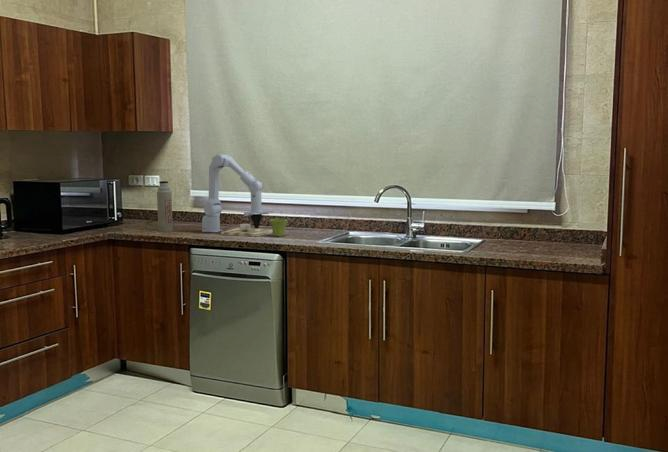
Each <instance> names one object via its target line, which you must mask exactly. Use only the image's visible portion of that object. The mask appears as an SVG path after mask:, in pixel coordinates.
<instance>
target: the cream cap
mask: <svg viewBox="0 0 668 452" xmlns="http://www.w3.org/2000/svg"><path fill="white" fill-rule="evenodd" d="M239 228H240V230H247V231H250V229H251V223H240V226H239Z"/></svg>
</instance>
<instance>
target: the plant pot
mask: <svg viewBox="0 0 668 452" xmlns="http://www.w3.org/2000/svg"><path fill="white" fill-rule="evenodd" d="M269 221H270V224H271V230H272V235H273V237H283V236H285V234H286V226H287V225H286V224H287V221H288V219H286V218H271V219H269Z"/></svg>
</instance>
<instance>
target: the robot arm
mask: <svg viewBox="0 0 668 452" xmlns="http://www.w3.org/2000/svg"><path fill="white" fill-rule="evenodd" d="M224 167H227V168H228V167H229V168H230V169H231V170H232V171H234V173H236V174H237V175H238V176H239V179H240V180H241V181H242V182H243V183H244V185H246V186H247V188H248V190H249V193H250V210H249V211H244V212H243V216H244V217H248V216H249V217H250V219H251V221H252V224H253V227H254V229H260V224H261V221H262V219H263V215H269V214H270V213H269V212H270V211H269V210H263V209H262V190H263V188H264V184H263V183H262V182H261V181H260V180H258V179H257V178H255V177H254V176H253V175H252V173H251V172H250V171H245V170H244V169H243V168H242V167H241V166H240V165H239V164H238V163H237V162H236V160H235V159H234V157H232V156H231V155H230V154H228V153H225V154H224V153H223V154H215V155H213V157H212V159H211V162H210V165H209V167H208V168H209V170H208V198H207V200H206V201H205V205H204V208H203V212H204V214H205V215H203V216H202V218H201V219H202V220H201V229H202V230H201V232H204V233H218V232H223V231H224V229H221V223H220V222H221V219H220V218H221V216H220V215H221V213H222V211H223V208H222V204H221V200H220V199H219V195H220V194H219V193H220V192H219V190H220V188H219V187H220V171H221V170H222V169H223V168H224Z"/></svg>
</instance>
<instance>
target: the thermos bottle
mask: <svg viewBox="0 0 668 452" xmlns="http://www.w3.org/2000/svg"><path fill="white" fill-rule="evenodd" d="M158 183H159V186H158V187H157V191H156V201H157V202H156V203H157V205H156V206H157V230H158V232H171V231H173V230H174V228H173V226H174V225H173V202H172V201H173V200H172V199H173V198H172V191H171V187H170V186H169V181H167V180H164V181H158Z"/></svg>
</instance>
